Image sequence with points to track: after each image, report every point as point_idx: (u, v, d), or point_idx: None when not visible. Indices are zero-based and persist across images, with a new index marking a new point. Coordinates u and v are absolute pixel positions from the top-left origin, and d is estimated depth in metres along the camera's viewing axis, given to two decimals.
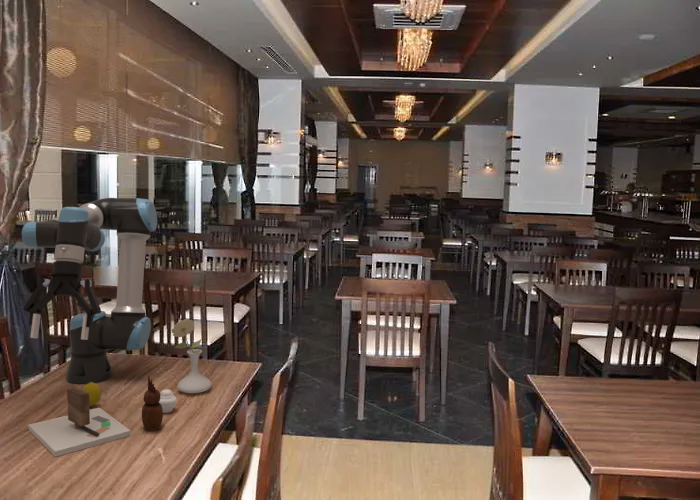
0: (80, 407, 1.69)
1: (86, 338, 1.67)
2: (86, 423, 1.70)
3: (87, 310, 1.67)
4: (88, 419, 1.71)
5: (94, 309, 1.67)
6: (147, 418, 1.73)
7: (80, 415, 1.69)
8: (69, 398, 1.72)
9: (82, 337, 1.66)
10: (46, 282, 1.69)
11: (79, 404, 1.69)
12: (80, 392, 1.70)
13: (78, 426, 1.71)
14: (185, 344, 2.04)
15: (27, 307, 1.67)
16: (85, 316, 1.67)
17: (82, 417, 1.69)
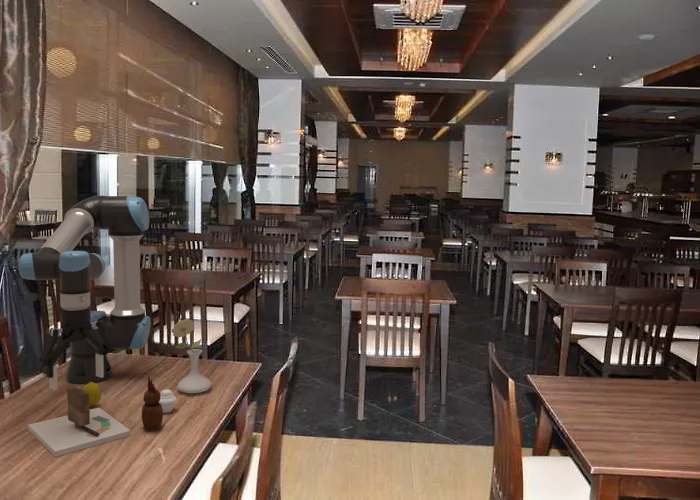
0: (80, 407, 1.69)
1: None
2: (86, 423, 1.70)
3: (103, 350, 1.75)
4: (88, 419, 1.71)
5: (109, 348, 1.76)
6: (147, 418, 1.73)
7: (80, 415, 1.69)
8: (69, 398, 1.72)
9: (102, 375, 1.75)
10: (58, 332, 1.64)
11: (79, 404, 1.69)
12: (80, 392, 1.70)
13: (78, 426, 1.71)
14: (185, 344, 2.04)
15: (46, 361, 1.62)
16: (102, 356, 1.75)
17: (82, 417, 1.69)
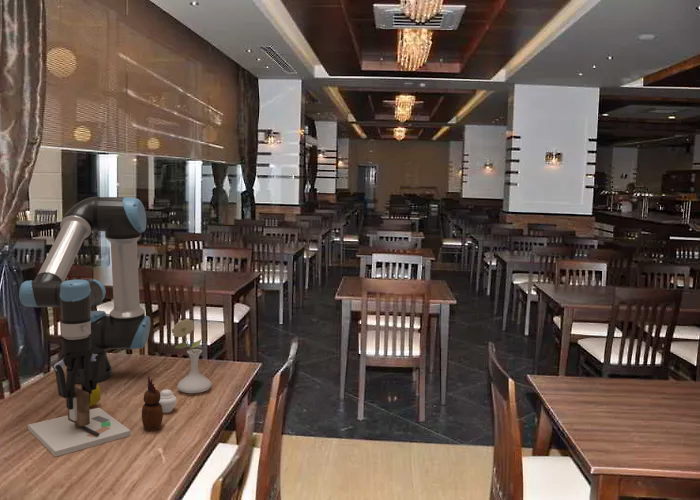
0: (80, 407, 1.69)
1: None
2: (86, 423, 1.70)
3: (88, 389, 1.72)
4: (88, 419, 1.71)
5: (94, 386, 1.74)
6: (147, 418, 1.73)
7: (80, 415, 1.69)
8: None
9: None
10: (61, 365, 1.66)
11: (79, 404, 1.69)
12: (80, 392, 1.70)
13: (78, 426, 1.71)
14: (185, 344, 2.04)
15: (66, 393, 1.67)
16: None
17: (82, 417, 1.69)
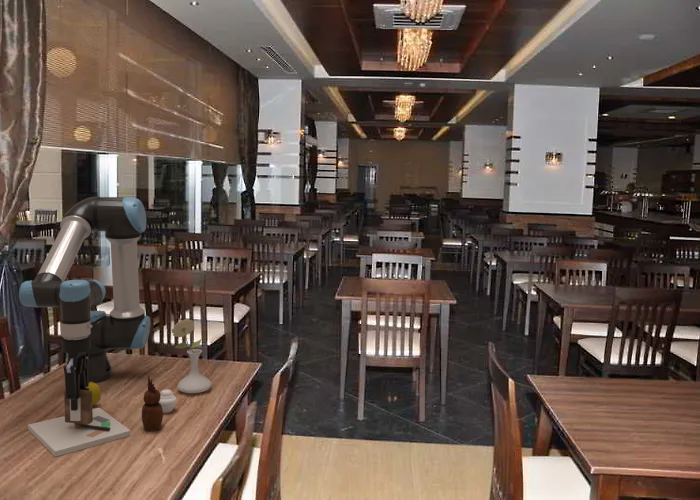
0: (85, 406, 1.70)
1: None
2: (90, 421, 1.72)
3: (85, 386, 1.74)
4: (91, 417, 1.72)
5: (87, 383, 1.76)
6: (147, 418, 1.73)
7: (85, 414, 1.70)
8: (67, 400, 1.71)
9: None
10: (72, 366, 1.65)
11: (84, 403, 1.70)
12: (82, 391, 1.71)
13: (80, 426, 1.72)
14: (185, 344, 2.04)
15: (76, 394, 1.67)
16: None
17: (88, 416, 1.70)
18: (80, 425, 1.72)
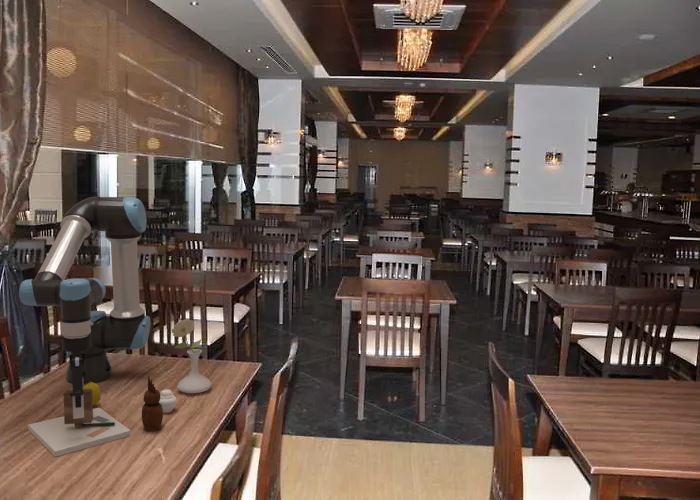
0: (88, 405, 1.71)
1: None
2: (92, 419, 1.73)
3: (82, 373, 1.78)
4: (92, 415, 1.74)
5: None
6: (147, 418, 1.73)
7: (89, 412, 1.71)
8: (67, 401, 1.70)
9: None
10: None
11: (87, 402, 1.71)
12: (84, 391, 1.71)
13: (81, 425, 1.72)
14: (185, 344, 2.04)
15: None
16: None
17: (91, 414, 1.72)
18: (81, 425, 1.72)
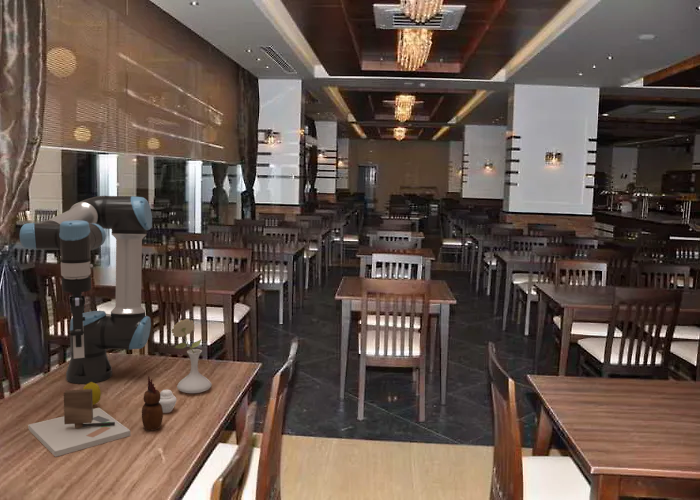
0: (88, 405, 1.71)
1: None
2: (92, 419, 1.73)
3: None
4: (92, 415, 1.74)
5: None
6: (147, 418, 1.73)
7: (89, 412, 1.71)
8: (67, 401, 1.70)
9: None
10: None
11: (87, 402, 1.71)
12: (84, 391, 1.71)
13: (81, 425, 1.72)
14: (185, 344, 2.04)
15: None
16: None
17: (91, 414, 1.72)
18: (81, 424, 1.72)
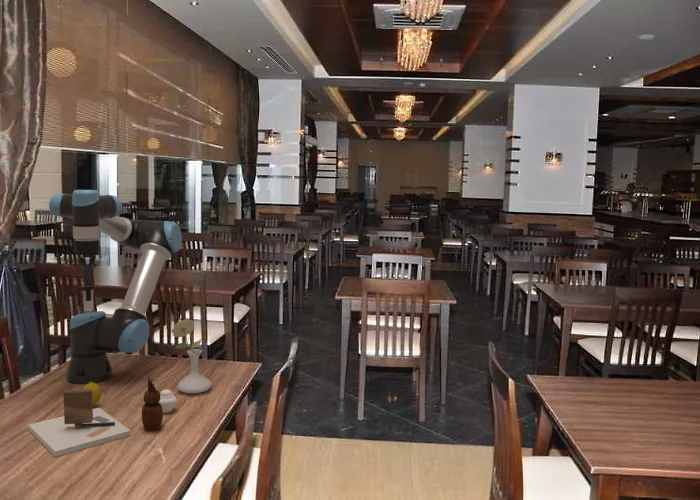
0: (88, 405, 1.71)
1: None
2: (92, 419, 1.73)
3: None
4: (92, 415, 1.74)
5: None
6: (147, 418, 1.73)
7: (89, 412, 1.71)
8: (67, 401, 1.70)
9: None
10: None
11: (87, 402, 1.71)
12: (84, 391, 1.71)
13: (81, 425, 1.72)
14: (185, 344, 2.04)
15: None
16: None
17: (91, 414, 1.72)
18: (81, 424, 1.72)
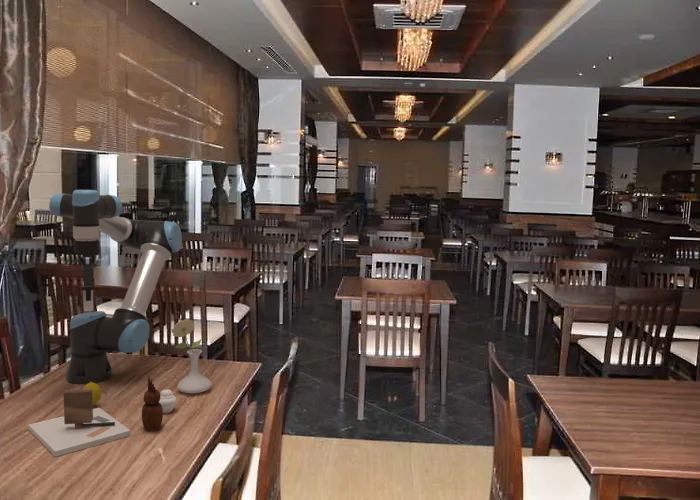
0: (88, 405, 1.71)
1: None
2: (92, 419, 1.73)
3: None
4: (92, 415, 1.74)
5: None
6: (147, 418, 1.73)
7: (89, 412, 1.71)
8: (67, 401, 1.70)
9: None
10: None
11: (87, 402, 1.71)
12: (84, 391, 1.71)
13: (81, 425, 1.72)
14: (185, 344, 2.04)
15: None
16: None
17: (91, 414, 1.72)
18: (81, 424, 1.72)
